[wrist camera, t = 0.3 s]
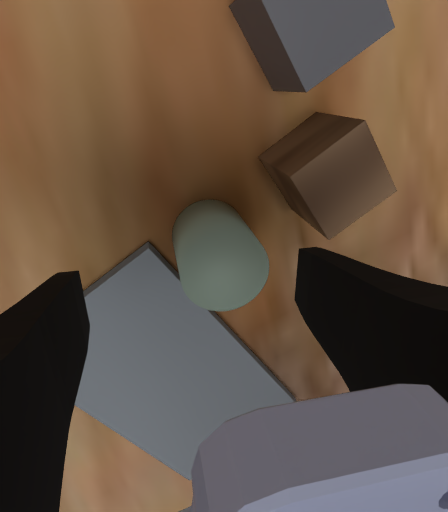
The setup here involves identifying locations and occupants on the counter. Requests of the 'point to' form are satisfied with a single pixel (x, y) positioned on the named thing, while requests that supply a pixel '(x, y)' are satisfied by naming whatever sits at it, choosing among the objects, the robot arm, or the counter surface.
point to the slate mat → (165, 363)
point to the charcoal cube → (309, 36)
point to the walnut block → (329, 171)
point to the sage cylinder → (218, 256)
